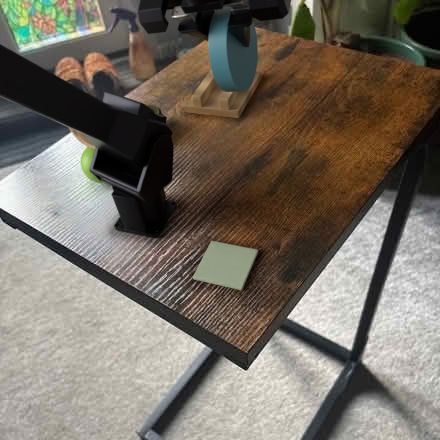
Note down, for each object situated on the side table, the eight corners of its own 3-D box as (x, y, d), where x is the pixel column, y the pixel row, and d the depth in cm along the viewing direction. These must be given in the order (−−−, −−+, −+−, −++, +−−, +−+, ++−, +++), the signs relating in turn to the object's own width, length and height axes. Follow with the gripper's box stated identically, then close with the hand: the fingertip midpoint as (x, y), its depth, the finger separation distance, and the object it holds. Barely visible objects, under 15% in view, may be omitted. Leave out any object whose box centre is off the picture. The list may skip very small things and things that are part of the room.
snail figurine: (98, 162, 69) (68, 85, 60) (132, 171, 67) (107, 93, 57) (75, 184, 67) (40, 108, 57) (110, 195, 64) (80, 117, 55)
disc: (232, 100, 58) (221, 8, 53) (214, 100, 60) (202, 11, 54) (260, 81, 66) (254, -1, 60) (244, 82, 67) (236, 1, 61)
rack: (238, 118, 72) (237, 100, 70) (186, 112, 75) (183, 95, 72) (261, 78, 78) (260, 60, 76) (212, 74, 81) (210, 57, 79)
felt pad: (241, 290, 52) (241, 288, 51) (193, 279, 53) (192, 277, 53) (258, 251, 55) (258, 249, 54) (211, 242, 57) (211, 240, 56)
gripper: (287, -153, 43) (319, -21, 57) (126, -108, 51) (189, -2, 65) (264, -47, 42) (303, 61, 56) (103, -18, 50) (173, 70, 64)
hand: (238, 44), depth 60 cm, fingers closed on disc, 2 cm apart
